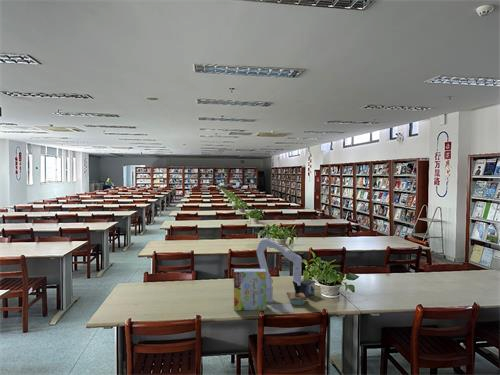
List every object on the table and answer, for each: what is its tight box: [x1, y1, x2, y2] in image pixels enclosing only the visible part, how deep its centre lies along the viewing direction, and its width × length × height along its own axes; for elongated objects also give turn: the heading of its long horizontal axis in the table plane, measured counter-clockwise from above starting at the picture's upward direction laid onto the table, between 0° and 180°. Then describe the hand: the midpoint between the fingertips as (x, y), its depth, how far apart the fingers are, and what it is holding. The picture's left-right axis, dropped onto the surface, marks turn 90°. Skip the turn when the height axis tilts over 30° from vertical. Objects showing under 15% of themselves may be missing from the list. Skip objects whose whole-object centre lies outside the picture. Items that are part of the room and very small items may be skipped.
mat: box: [269, 303, 294, 313], centre depth 231 cm, size 14×14×1 cm
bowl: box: [288, 299, 306, 306], centre depth 242 cm, size 10×10×4 cm
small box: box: [299, 279, 316, 298], centre depth 257 cm, size 11×6×10 cm, turn 126°
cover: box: [286, 291, 308, 301], centre depth 242 cm, size 12×12×4 cm
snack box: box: [233, 268, 267, 311], centre depth 231 cm, size 22×9×26 cm, turn 92°
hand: (296, 292), depth 242 cm, fingers closed on cover, 2 cm apart
